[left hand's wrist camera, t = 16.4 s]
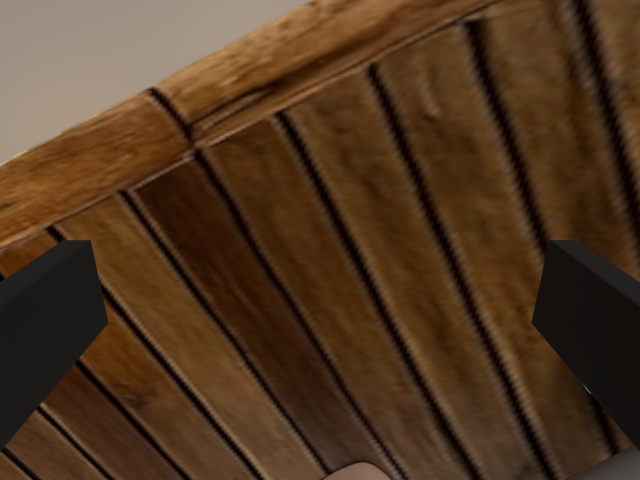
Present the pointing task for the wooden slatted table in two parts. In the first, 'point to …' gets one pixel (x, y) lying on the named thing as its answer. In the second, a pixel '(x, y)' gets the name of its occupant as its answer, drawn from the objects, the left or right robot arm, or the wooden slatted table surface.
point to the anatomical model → (358, 473)
